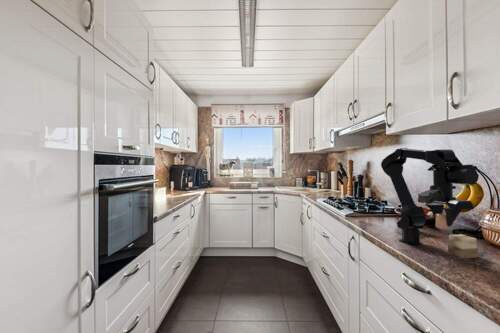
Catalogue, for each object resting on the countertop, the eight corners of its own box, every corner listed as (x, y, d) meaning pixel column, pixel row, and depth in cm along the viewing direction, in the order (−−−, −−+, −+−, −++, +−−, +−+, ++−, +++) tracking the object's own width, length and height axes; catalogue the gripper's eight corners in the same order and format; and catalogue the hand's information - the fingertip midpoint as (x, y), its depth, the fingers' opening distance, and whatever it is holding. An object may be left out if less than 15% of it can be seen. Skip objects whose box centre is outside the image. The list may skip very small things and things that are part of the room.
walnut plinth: (448, 253, 96) (447, 244, 96) (462, 252, 96) (461, 243, 96) (463, 258, 90) (462, 249, 90) (478, 257, 90) (477, 248, 90)
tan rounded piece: (432, 226, 96) (432, 213, 96) (444, 226, 96) (443, 212, 96) (442, 229, 91) (442, 215, 91) (454, 229, 91) (454, 215, 91)
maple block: (448, 244, 95) (448, 235, 95) (462, 243, 96) (462, 234, 96) (462, 249, 90) (462, 239, 90) (476, 248, 90) (476, 238, 90)
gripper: (405, 182, 102) (405, 220, 102) (442, 185, 84) (443, 232, 84) (431, 181, 103) (431, 219, 103) (474, 184, 84) (475, 231, 84)
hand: (443, 224), depth 93 cm, fingers closed on tan rounded piece, 5 cm apart
